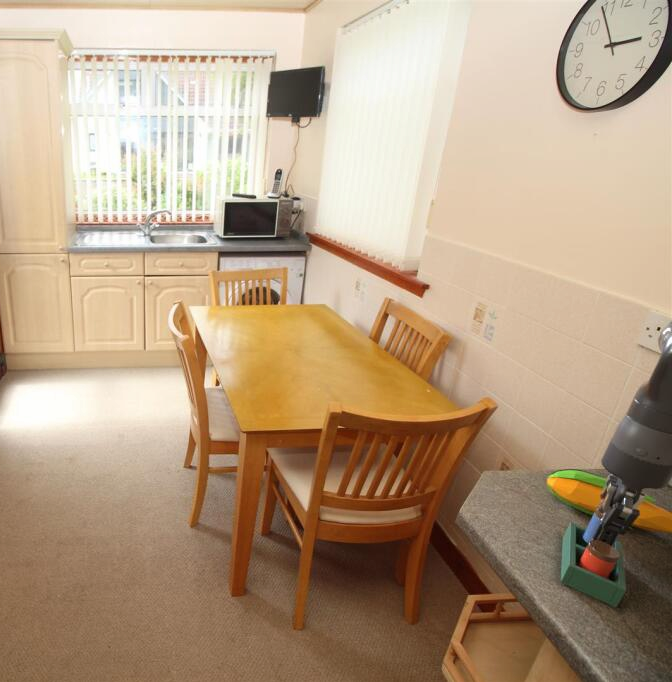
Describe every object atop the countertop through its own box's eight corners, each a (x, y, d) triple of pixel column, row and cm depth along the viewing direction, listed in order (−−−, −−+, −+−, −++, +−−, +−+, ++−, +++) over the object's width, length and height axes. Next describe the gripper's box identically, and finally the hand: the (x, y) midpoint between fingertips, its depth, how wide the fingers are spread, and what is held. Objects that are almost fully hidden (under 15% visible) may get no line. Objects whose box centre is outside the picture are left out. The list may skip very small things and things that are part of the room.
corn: (556, 452, 94) (700, 500, 82) (542, 482, 97) (679, 532, 85) (553, 471, 89) (706, 525, 77) (539, 502, 92) (684, 558, 80)
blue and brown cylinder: (610, 541, 78) (626, 512, 75) (611, 554, 75) (627, 525, 73) (582, 530, 80) (596, 502, 77) (582, 542, 77) (597, 513, 75)
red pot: (603, 576, 75) (619, 548, 72) (604, 591, 72) (620, 562, 70) (574, 564, 77) (589, 535, 74) (574, 578, 74) (589, 549, 72)
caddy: (612, 558, 79) (621, 542, 78) (616, 607, 70) (626, 590, 69) (562, 537, 83) (570, 522, 82) (560, 582, 74) (569, 565, 73)
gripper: (688, 482, 63) (634, 577, 70) (674, 438, 73) (627, 525, 80) (614, 458, 67) (569, 550, 74) (610, 420, 78) (571, 503, 84)
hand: (600, 536), depth 77 cm, fingers closed on blue and brown cylinder, 3 cm apart
